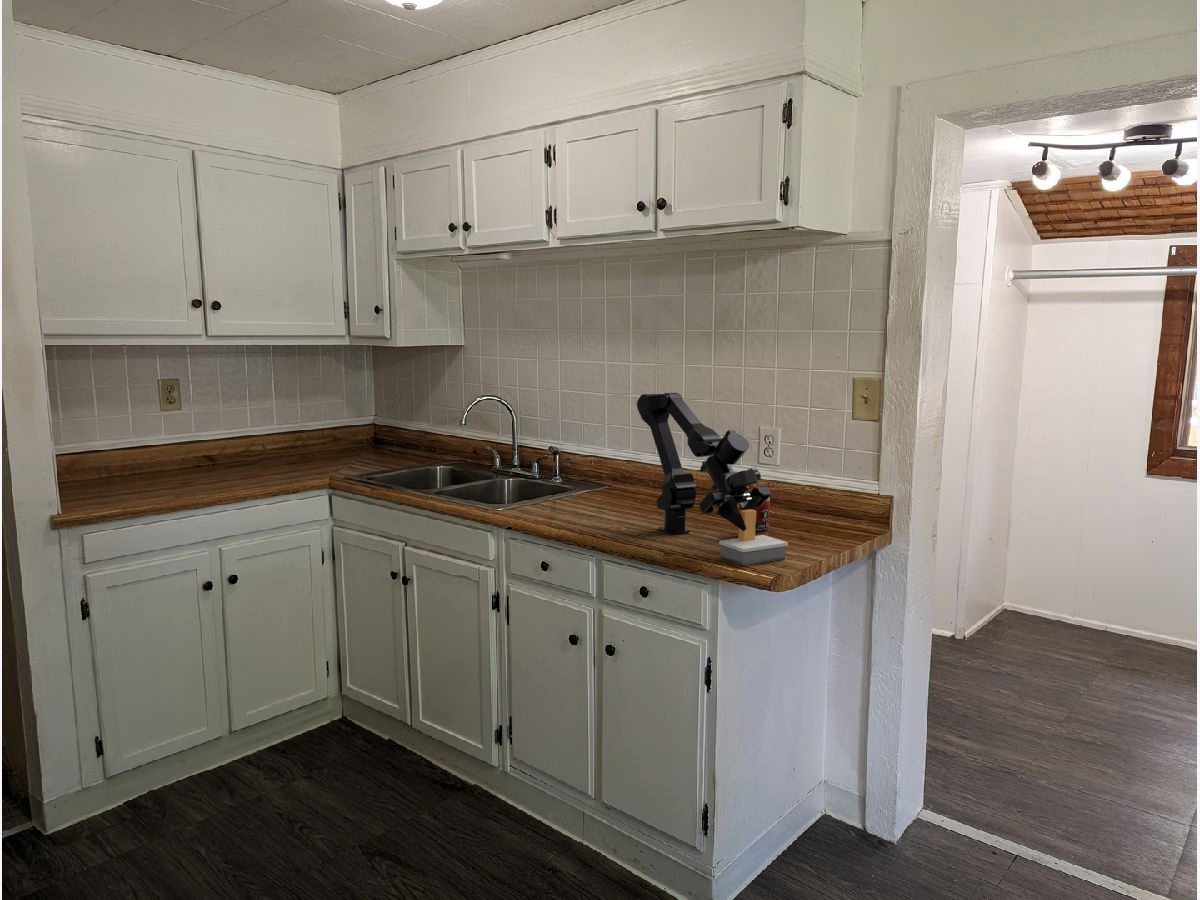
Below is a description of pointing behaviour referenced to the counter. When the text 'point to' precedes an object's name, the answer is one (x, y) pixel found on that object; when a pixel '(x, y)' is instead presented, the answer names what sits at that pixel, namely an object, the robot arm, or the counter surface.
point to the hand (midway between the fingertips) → (751, 529)
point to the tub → (753, 555)
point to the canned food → (762, 518)
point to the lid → (751, 536)
